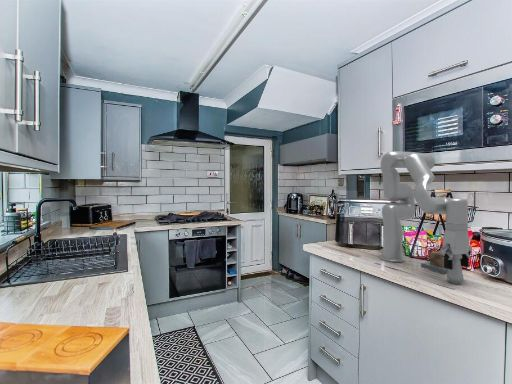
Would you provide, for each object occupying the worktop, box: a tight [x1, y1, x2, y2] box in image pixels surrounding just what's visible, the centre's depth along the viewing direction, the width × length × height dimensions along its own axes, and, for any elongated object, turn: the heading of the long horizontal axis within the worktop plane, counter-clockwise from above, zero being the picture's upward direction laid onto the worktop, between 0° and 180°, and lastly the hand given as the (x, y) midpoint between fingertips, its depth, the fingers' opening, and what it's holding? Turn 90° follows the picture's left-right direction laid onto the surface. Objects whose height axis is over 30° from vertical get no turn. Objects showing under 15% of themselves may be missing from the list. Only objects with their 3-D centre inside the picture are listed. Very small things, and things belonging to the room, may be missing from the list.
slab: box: [420, 261, 463, 275], centre depth 132 cm, size 12×12×2 cm
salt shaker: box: [446, 254, 465, 285], centre depth 114 cm, size 6×6×13 cm
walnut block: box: [429, 251, 449, 268], centre depth 132 cm, size 6×6×6 cm
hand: (456, 267), depth 113 cm, fingers open, 9 cm apart
